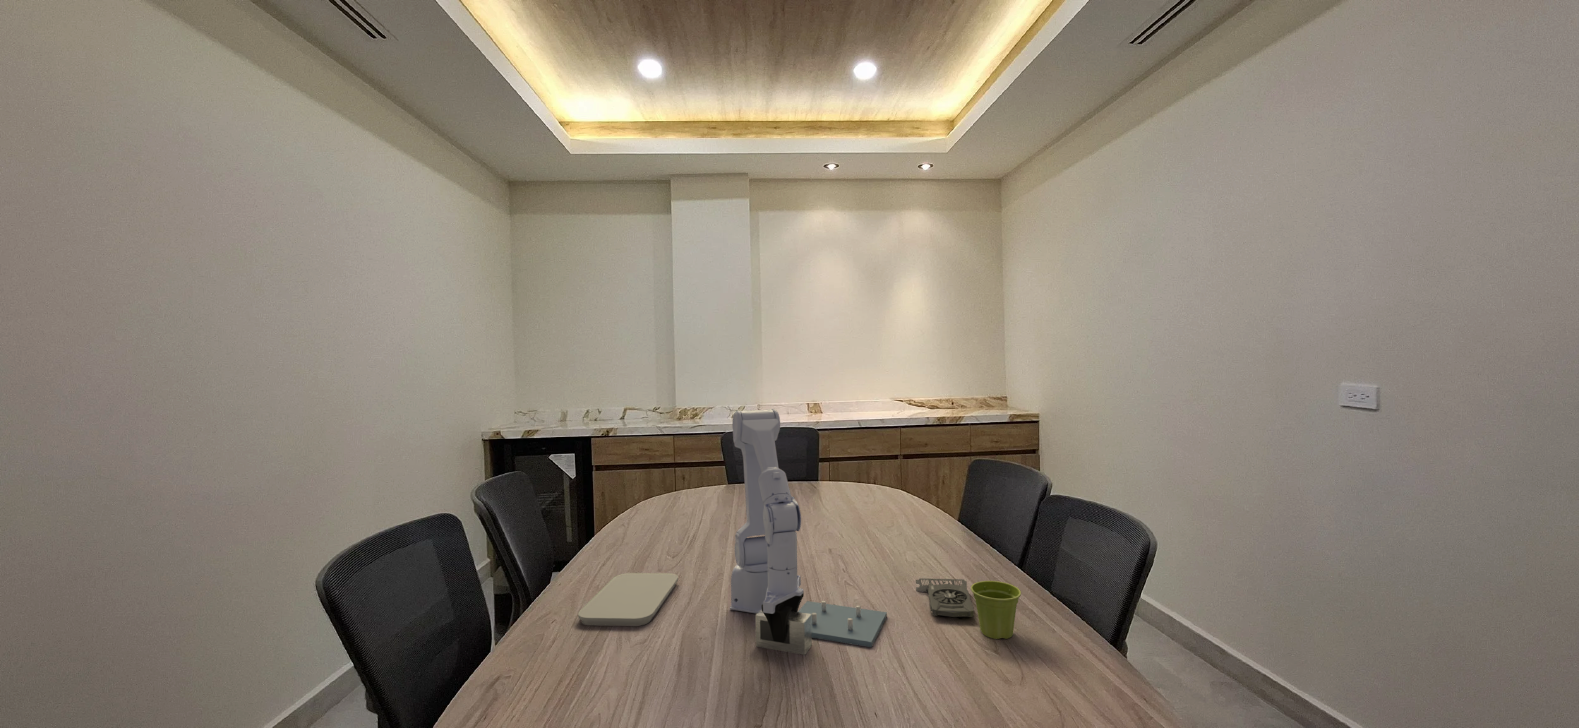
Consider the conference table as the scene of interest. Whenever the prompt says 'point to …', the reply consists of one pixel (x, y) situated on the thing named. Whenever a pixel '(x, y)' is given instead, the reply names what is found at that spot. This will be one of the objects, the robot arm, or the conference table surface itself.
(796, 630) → the beige rectangular block
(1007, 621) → the plant pot
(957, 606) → the graphics card
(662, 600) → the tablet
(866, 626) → the tray
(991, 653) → the conference table surface
